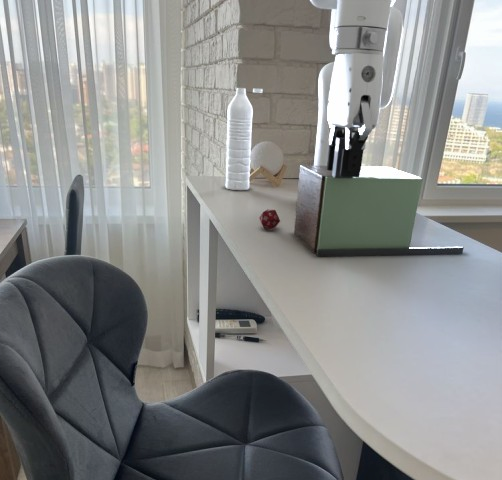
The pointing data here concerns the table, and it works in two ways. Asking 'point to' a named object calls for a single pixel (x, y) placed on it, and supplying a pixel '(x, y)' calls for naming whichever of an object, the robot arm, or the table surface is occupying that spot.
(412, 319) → the table surface
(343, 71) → the robot arm
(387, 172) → the cabinet
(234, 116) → the water bottle
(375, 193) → the sliding door
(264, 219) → the dice
